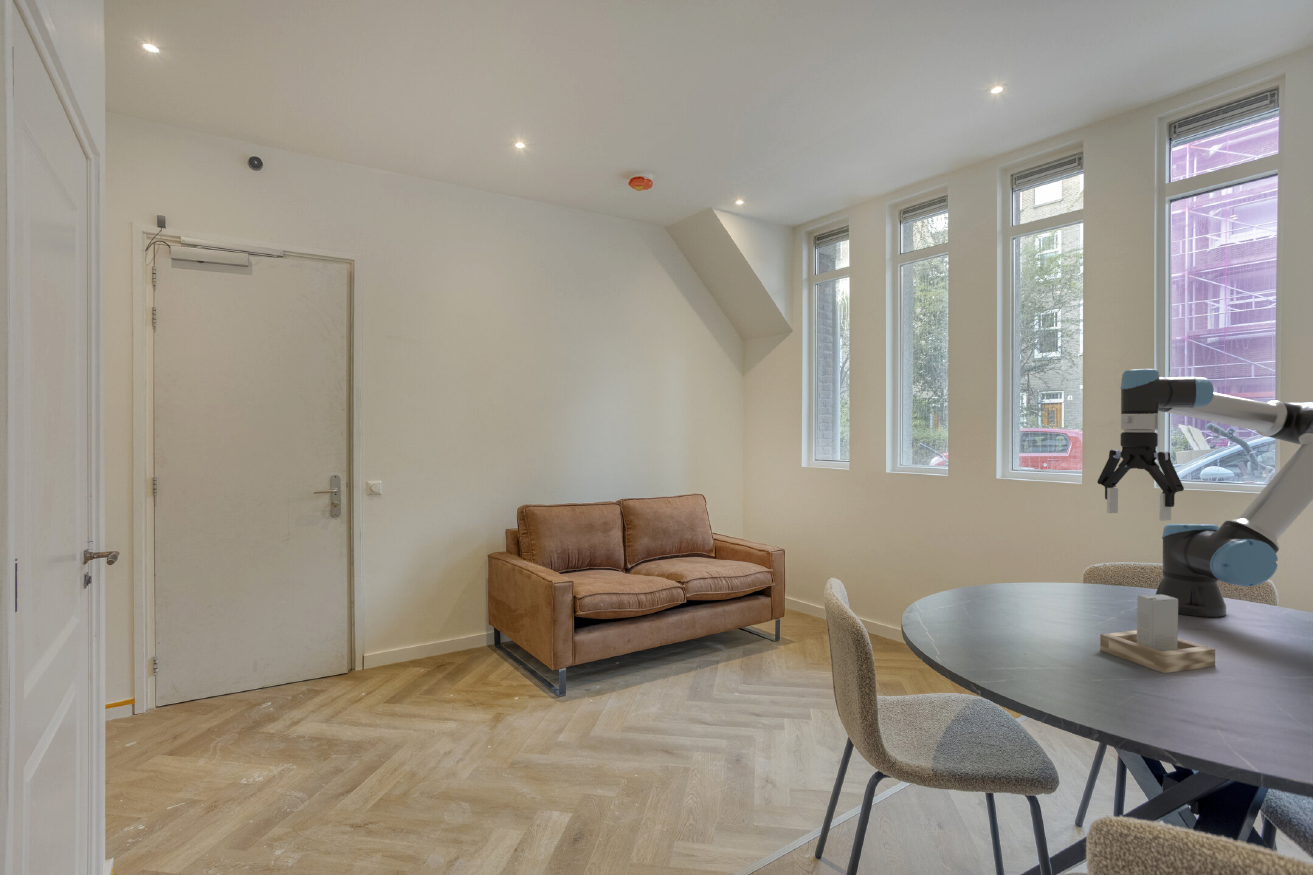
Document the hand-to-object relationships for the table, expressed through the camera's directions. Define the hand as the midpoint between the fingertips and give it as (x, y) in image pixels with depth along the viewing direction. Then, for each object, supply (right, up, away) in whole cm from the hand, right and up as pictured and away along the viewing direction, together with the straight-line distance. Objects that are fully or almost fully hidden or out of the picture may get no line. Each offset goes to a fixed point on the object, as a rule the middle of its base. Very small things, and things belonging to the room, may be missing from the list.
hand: (1137, 516), depth 166 cm
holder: (-14, -27, -24) cm, 39 cm away
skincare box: (-14, -26, -24) cm, 38 cm away
